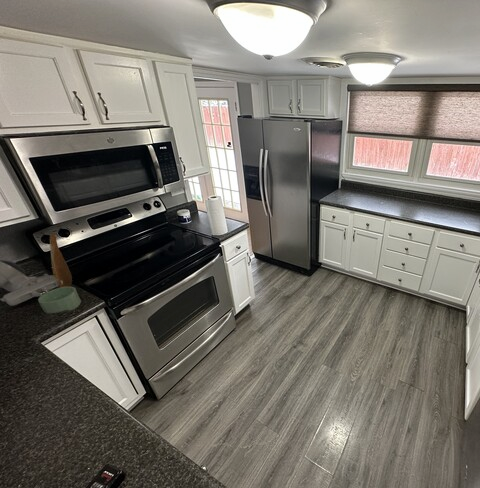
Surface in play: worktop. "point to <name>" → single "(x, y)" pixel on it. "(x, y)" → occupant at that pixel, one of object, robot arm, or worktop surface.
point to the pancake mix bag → (59, 264)
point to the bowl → (60, 300)
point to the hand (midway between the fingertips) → (44, 293)
